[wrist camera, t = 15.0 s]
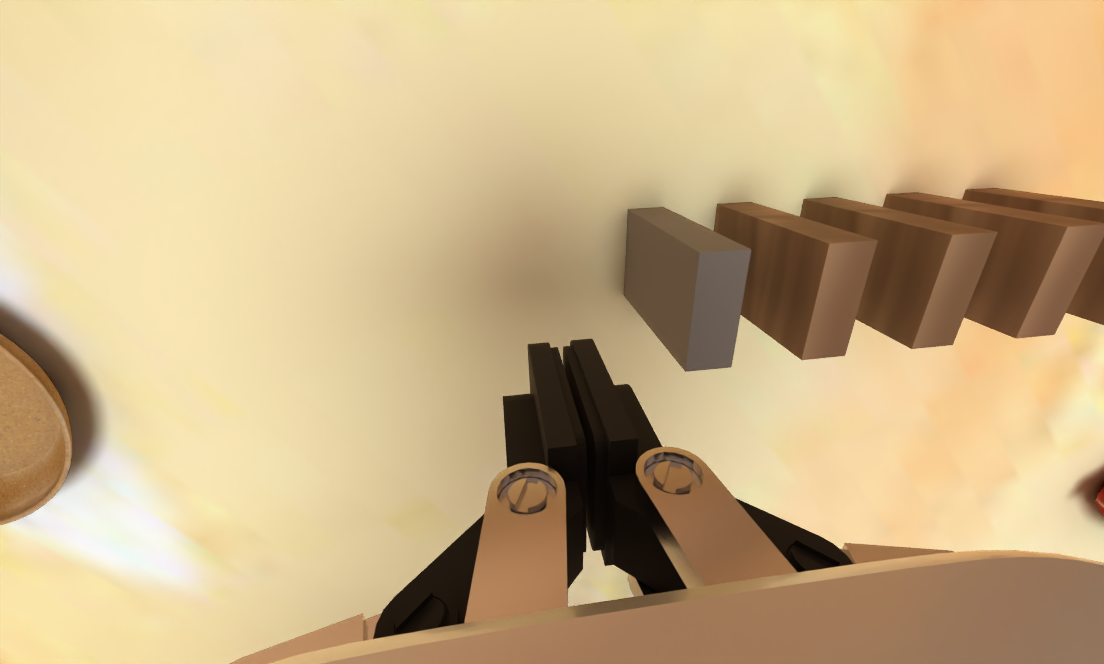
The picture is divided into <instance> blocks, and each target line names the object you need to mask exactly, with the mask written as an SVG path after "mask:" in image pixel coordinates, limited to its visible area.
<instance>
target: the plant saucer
mask: <svg viewBox="0 0 1104 664" xmlns="http://www.w3.org/2000/svg"><path fill="white" fill-rule="evenodd" d="M71 457H72V434H71V427H70V422H69V418H68V414H67V411H66V408H65V406H64V403H63V401H62V399H61V397H60V395H59V393H58V391H57V389H56V388H55V386H54V385H53V383H52V381H51V380H50V379H49V377H48V376H47V374H46V373H45V372H44V371H43V370H42V368H41V367H40V366H39V365H38V364H37V363H36V362H35V361H34V360H33V359H32V358H31V357H30V356H29V355H28V354H27V353H26V352H25V351H24V350H22V349H21V348H20V347H18V346H17V345H16V344H15V343H13V342H12V341H11V340H9V339H8V338H6V337H5V336H3V335H2V334H0V525H3V524H7V523H10V522H13V521H16V520H18V519H21V518H23V517H25V516H27V515H29V514H31V513H33V512H34V511H36V510H38V509H39V508H41V507H42V506H43V505H45V504H46V503H47V502H48V501H49V500H50V499H52V498H53V497H54V496H55V494H56V493H57V492H58V491H59V489H60V488H61V486H62V485H63V483H64V481H65V479H66V477H67V475H68V472H69V469H70V465H71Z"/></svg>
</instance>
